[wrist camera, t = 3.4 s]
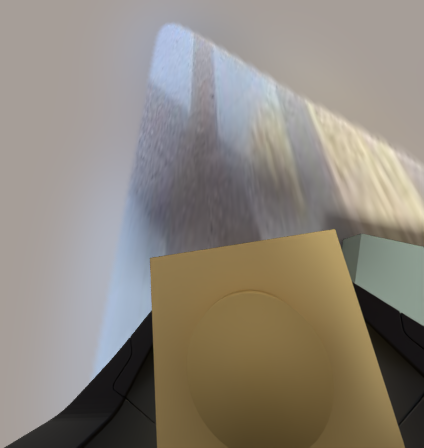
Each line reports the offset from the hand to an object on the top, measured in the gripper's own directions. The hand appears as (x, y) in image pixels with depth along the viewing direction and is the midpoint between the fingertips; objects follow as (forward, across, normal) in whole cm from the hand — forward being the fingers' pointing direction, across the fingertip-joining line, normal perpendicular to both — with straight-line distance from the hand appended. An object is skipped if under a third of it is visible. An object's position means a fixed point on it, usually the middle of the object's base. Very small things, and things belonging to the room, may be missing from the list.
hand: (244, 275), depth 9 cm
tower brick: (+4, 0, +6) cm, 7 cm away
